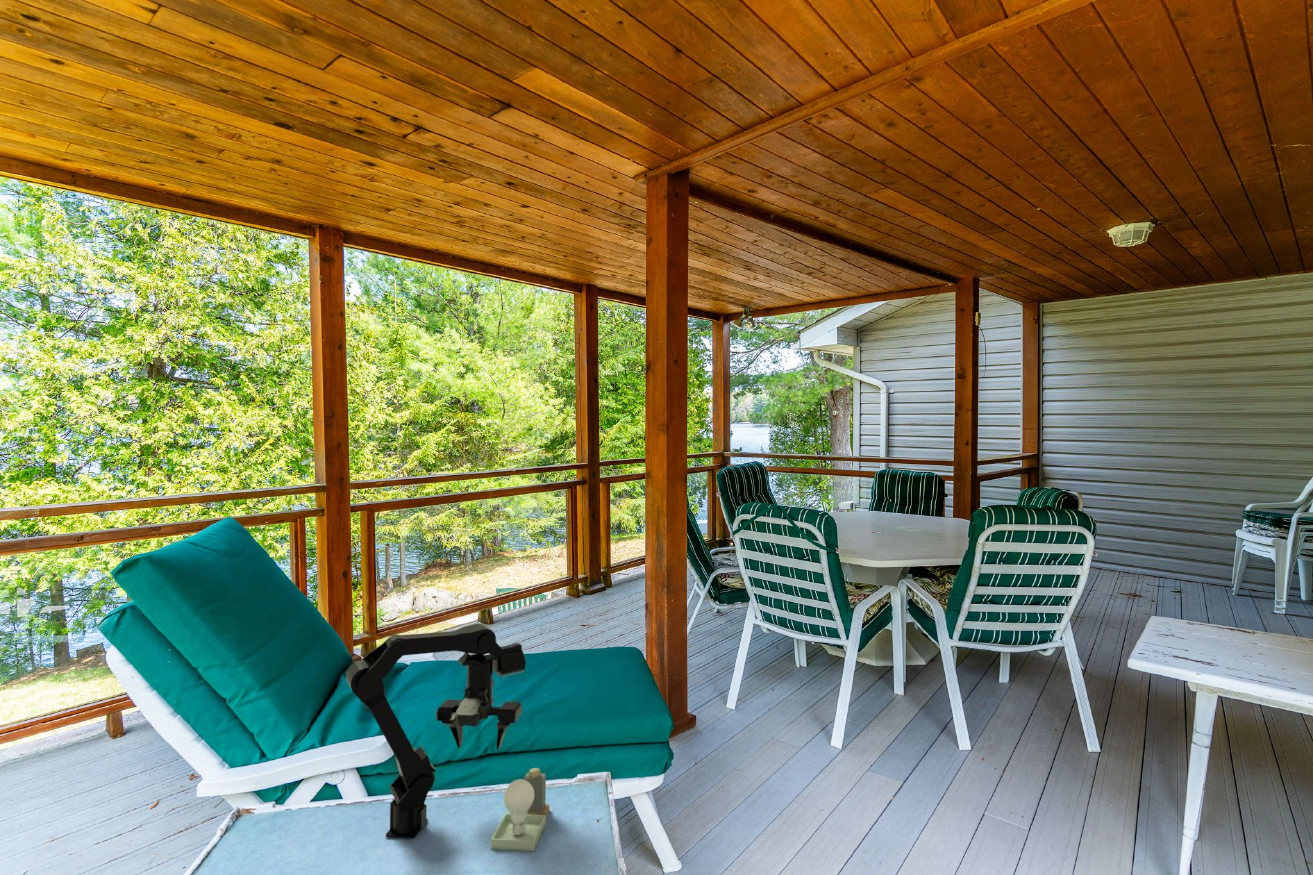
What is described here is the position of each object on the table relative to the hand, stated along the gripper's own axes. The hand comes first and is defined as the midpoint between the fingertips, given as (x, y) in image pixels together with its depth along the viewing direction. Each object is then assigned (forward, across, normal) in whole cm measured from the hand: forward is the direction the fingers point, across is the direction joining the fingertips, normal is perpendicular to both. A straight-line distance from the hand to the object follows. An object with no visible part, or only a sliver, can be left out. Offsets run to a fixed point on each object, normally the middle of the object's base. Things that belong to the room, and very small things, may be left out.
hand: (479, 748), depth 139 cm
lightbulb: (+13, +13, -10) cm, 21 cm away
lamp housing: (+13, +14, -2) cm, 19 cm away
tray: (+13, +13, -10) cm, 21 cm away
